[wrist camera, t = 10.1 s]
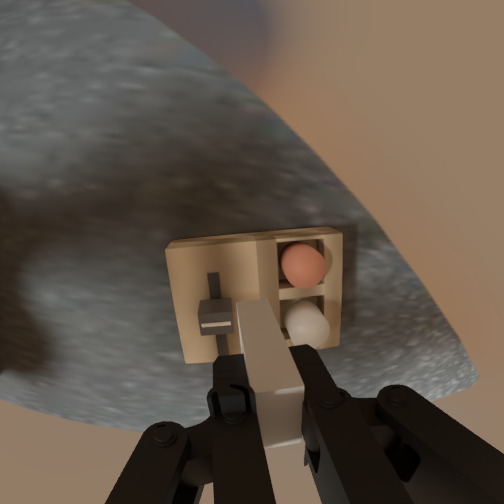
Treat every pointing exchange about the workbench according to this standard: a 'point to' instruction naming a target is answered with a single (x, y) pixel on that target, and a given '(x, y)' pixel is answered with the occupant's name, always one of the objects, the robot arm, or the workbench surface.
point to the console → (248, 283)
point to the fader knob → (216, 316)
